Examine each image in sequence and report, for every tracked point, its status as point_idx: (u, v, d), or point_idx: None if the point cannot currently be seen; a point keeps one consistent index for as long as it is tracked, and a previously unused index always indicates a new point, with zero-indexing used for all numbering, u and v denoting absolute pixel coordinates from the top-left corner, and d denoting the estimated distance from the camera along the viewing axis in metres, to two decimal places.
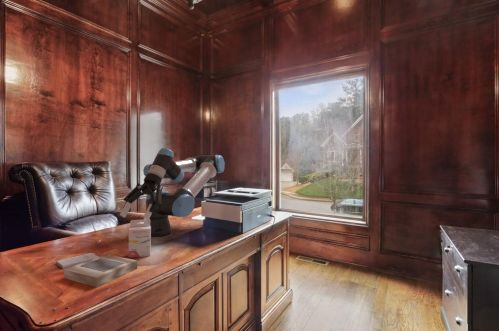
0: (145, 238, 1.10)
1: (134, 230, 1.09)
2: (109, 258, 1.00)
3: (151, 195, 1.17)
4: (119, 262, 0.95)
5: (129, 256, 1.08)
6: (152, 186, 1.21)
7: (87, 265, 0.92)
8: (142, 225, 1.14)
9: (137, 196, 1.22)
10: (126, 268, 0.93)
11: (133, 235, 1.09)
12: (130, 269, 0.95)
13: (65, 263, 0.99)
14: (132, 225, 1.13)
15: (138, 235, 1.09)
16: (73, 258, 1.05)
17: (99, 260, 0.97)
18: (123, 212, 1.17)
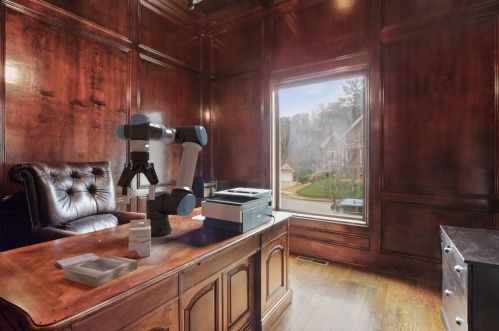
0: (145, 238, 1.10)
1: (134, 230, 1.09)
2: (109, 258, 1.00)
3: (150, 176, 1.15)
4: (119, 262, 0.95)
5: (129, 256, 1.08)
6: (146, 165, 1.13)
7: (87, 265, 0.92)
8: (142, 225, 1.14)
9: None
10: (126, 268, 0.93)
11: (133, 235, 1.09)
12: (130, 269, 0.95)
13: (65, 263, 0.99)
14: (132, 225, 1.13)
15: (138, 235, 1.09)
16: (73, 258, 1.05)
17: (99, 260, 0.97)
18: None
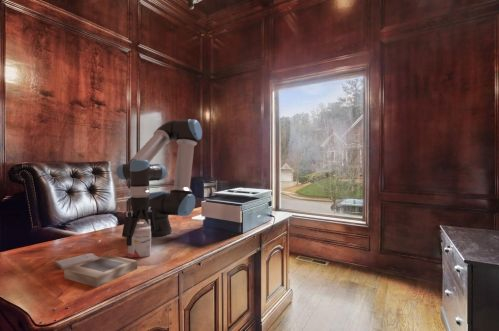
0: (145, 238, 1.10)
1: None
2: (109, 258, 1.00)
3: None
4: (119, 262, 0.95)
5: (129, 256, 1.08)
6: (146, 209, 1.14)
7: (87, 265, 0.92)
8: (142, 225, 1.14)
9: None
10: (126, 268, 0.93)
11: (133, 235, 1.08)
12: (130, 269, 0.95)
13: (64, 264, 0.99)
14: None
15: (137, 235, 1.09)
16: (73, 258, 1.04)
17: (99, 260, 0.97)
18: None
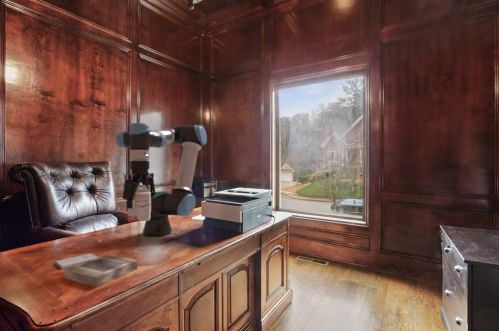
0: (144, 202, 1.10)
1: None
2: (109, 258, 1.00)
3: None
4: (119, 262, 0.95)
5: (128, 220, 1.08)
6: (146, 174, 1.13)
7: (87, 265, 0.92)
8: (142, 190, 1.14)
9: None
10: (126, 268, 0.93)
11: None
12: (130, 269, 0.95)
13: (64, 264, 0.99)
14: None
15: (137, 199, 1.09)
16: (73, 258, 1.04)
17: (99, 260, 0.97)
18: None
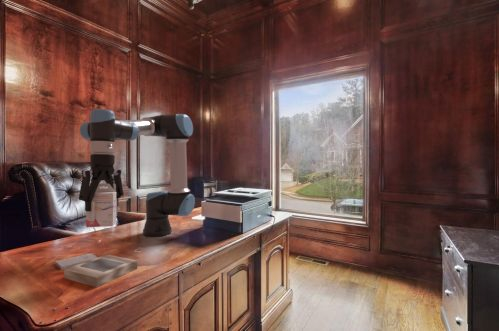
0: (106, 204, 0.91)
1: None
2: (109, 258, 1.00)
3: None
4: (119, 262, 0.95)
5: (87, 225, 0.90)
6: (111, 170, 0.95)
7: (87, 265, 0.92)
8: (106, 190, 0.95)
9: None
10: (126, 268, 0.93)
11: (92, 200, 0.90)
12: (130, 269, 0.95)
13: (63, 264, 0.98)
14: None
15: (97, 201, 0.91)
16: (72, 258, 1.04)
17: (99, 260, 0.97)
18: None
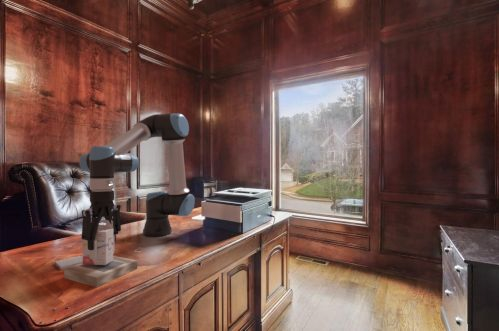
0: (100, 243, 0.91)
1: None
2: None
3: None
4: (119, 262, 0.95)
5: (83, 262, 0.92)
6: (111, 205, 0.95)
7: (87, 265, 0.92)
8: (104, 227, 0.96)
9: None
10: (126, 268, 0.93)
11: None
12: (130, 269, 0.95)
13: (63, 264, 0.98)
14: None
15: None
16: (72, 259, 1.04)
17: None
18: None
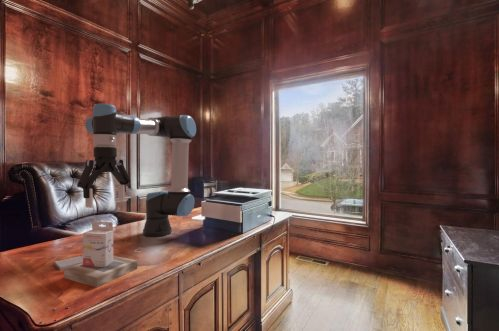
0: (100, 244, 0.91)
1: (88, 234, 0.91)
2: None
3: (119, 174, 1.02)
4: (119, 262, 0.95)
5: (83, 264, 0.92)
6: (114, 162, 1.00)
7: None
8: (104, 228, 0.95)
9: None
10: (126, 268, 0.93)
11: (87, 240, 0.91)
12: (130, 269, 0.95)
13: (62, 264, 0.98)
14: (94, 227, 0.96)
15: (92, 241, 0.91)
16: (72, 259, 1.04)
17: None
18: None
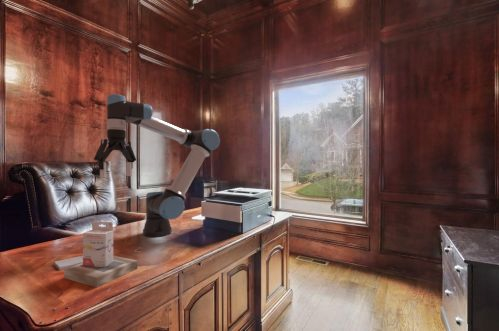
0: (100, 244, 0.91)
1: (88, 234, 0.91)
2: None
3: (127, 153, 1.23)
4: (119, 262, 0.95)
5: (83, 264, 0.92)
6: (123, 143, 1.21)
7: None
8: (104, 228, 0.95)
9: None
10: (126, 268, 0.93)
11: (87, 240, 0.91)
12: (130, 269, 0.95)
13: (62, 265, 0.98)
14: (94, 227, 0.96)
15: (92, 241, 0.91)
16: (71, 259, 1.03)
17: None
18: None
